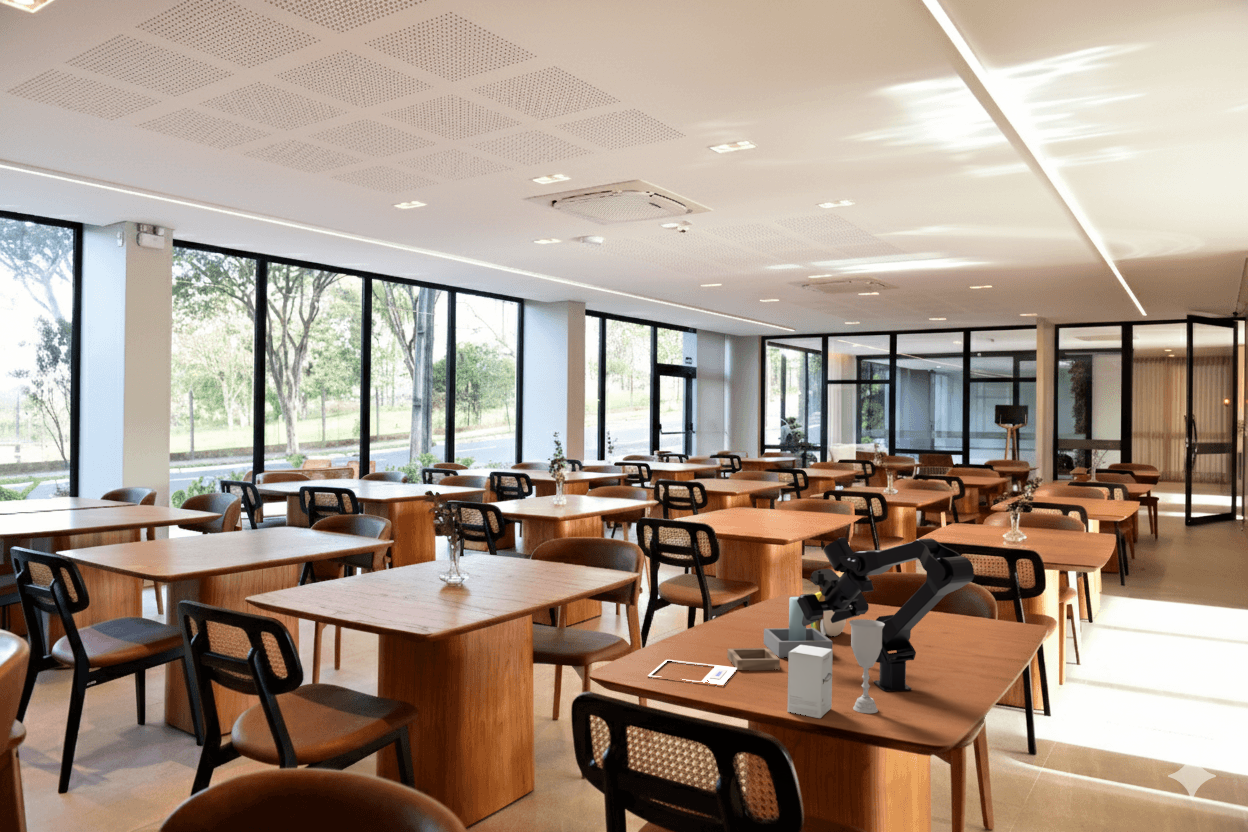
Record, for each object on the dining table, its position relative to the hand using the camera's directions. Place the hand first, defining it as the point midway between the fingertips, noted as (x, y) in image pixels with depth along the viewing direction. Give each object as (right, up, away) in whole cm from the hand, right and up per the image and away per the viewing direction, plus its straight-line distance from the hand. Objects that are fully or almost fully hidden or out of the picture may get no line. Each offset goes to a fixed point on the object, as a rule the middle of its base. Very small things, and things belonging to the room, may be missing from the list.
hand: (817, 623), depth 219 cm
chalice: (+1, -9, -39) cm, 40 cm away
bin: (-4, -9, +7) cm, 12 cm away
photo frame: (-33, -9, -15) cm, 37 cm away
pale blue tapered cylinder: (-4, -8, +7) cm, 11 cm away
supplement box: (-11, -9, -40) cm, 42 cm away
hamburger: (+8, -9, +24) cm, 27 cm away
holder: (-17, -9, -6) cm, 20 cm away
